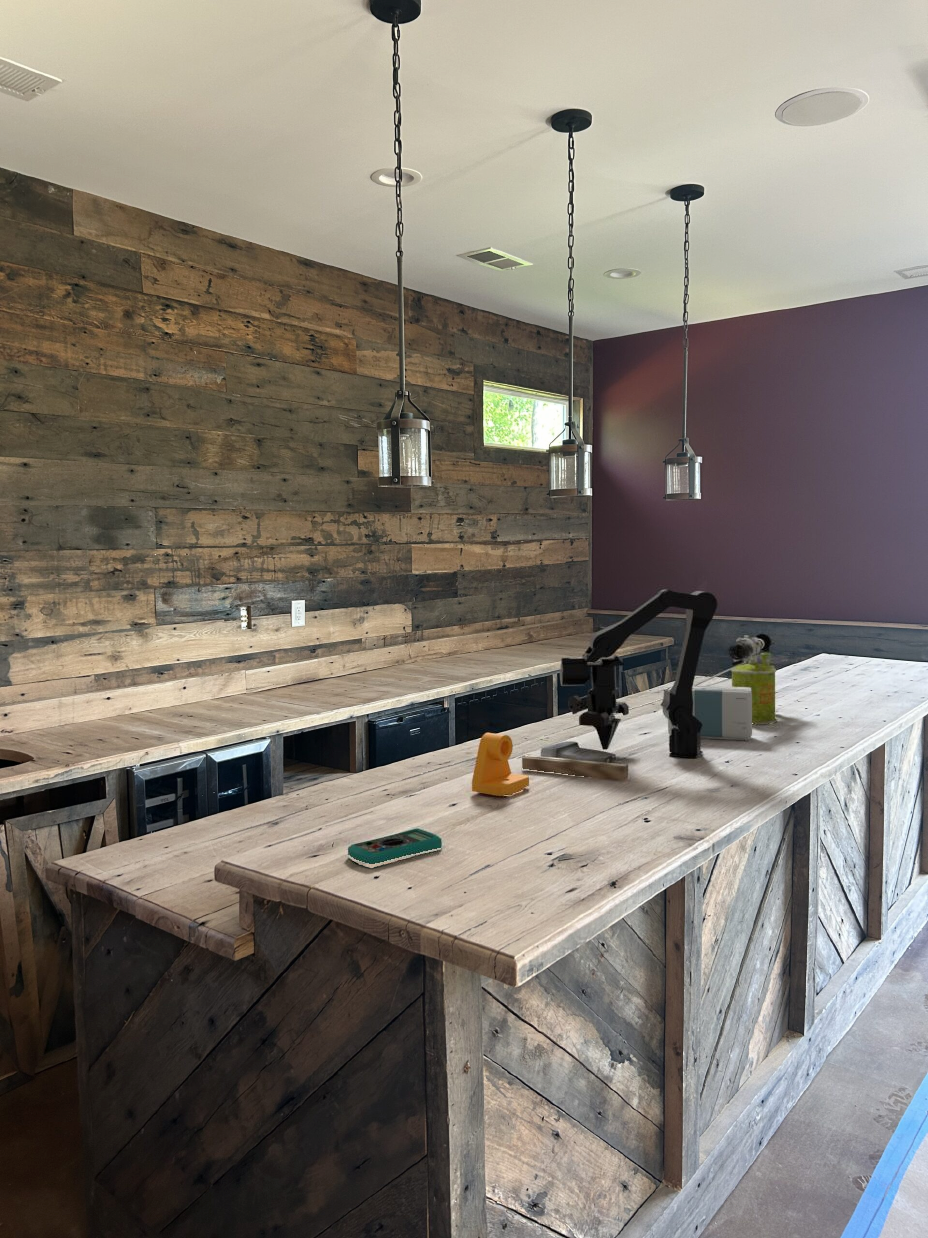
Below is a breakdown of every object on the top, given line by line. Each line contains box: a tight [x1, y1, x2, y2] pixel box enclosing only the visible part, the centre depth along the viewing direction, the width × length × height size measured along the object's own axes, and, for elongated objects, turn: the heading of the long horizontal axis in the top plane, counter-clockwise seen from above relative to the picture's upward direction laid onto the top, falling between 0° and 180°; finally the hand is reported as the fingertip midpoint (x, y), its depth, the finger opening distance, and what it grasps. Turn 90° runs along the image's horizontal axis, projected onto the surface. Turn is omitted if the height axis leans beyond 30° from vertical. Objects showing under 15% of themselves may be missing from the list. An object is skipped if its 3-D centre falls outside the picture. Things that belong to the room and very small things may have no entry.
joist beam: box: [521, 754, 629, 782], centre depth 201 cm, size 24×3×3 cm, turn 61°
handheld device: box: [540, 741, 622, 764], centre depth 209 cm, size 10×20×5 cm, turn 49°
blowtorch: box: [728, 633, 778, 725], centre depth 258 cm, size 13×33×25 cm, turn 148°
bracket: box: [471, 732, 530, 797], centre depth 188 cm, size 11×7×12 cm, turn 141°
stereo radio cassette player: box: [667, 661, 753, 742], centre depth 237 cm, size 21×8×20 cm, turn 68°
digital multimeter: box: [347, 828, 443, 864], centre depth 150 cm, size 7×15×3 cm, turn 128°
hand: (605, 749), depth 217 cm, fingers closed
